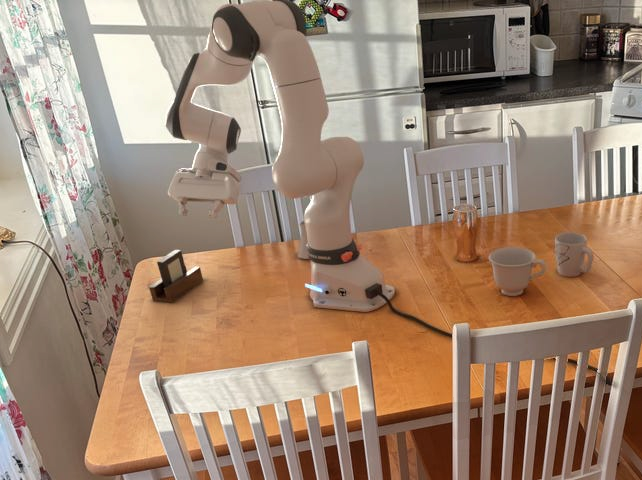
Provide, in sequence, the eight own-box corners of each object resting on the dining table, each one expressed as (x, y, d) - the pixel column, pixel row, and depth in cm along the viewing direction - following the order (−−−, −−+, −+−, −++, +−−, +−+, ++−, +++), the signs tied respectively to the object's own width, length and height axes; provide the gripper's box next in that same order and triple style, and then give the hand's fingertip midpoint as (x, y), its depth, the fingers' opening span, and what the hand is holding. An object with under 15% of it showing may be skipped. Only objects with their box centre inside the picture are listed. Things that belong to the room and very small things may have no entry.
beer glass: (450, 260, 208) (448, 210, 200) (460, 251, 213) (458, 202, 205) (473, 264, 205) (471, 213, 197) (482, 254, 211) (481, 204, 203)
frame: (183, 280, 199) (175, 249, 194) (189, 280, 198) (181, 250, 194) (165, 293, 192) (156, 261, 187) (171, 293, 192) (162, 262, 187)
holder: (184, 278, 202) (180, 265, 200) (203, 280, 201) (199, 267, 199) (152, 300, 191) (148, 287, 189) (172, 302, 189) (168, 289, 187)
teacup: (538, 306, 182) (539, 269, 177) (482, 298, 187) (481, 262, 182) (551, 286, 192) (552, 250, 187) (498, 278, 197) (497, 244, 191)
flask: (316, 260, 210) (311, 227, 205) (293, 259, 212) (287, 226, 206) (326, 250, 216) (321, 218, 211) (303, 249, 218) (298, 217, 212)
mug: (600, 274, 197) (602, 240, 192) (581, 284, 192) (583, 249, 187) (566, 263, 204) (568, 229, 199) (547, 273, 199) (548, 238, 194)
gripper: (170, 162, 202) (157, 208, 199) (235, 166, 197) (223, 213, 194) (183, 173, 208) (171, 218, 205) (247, 177, 203) (235, 223, 200)
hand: (197, 215), depth 200 cm, fingers open, 8 cm apart
